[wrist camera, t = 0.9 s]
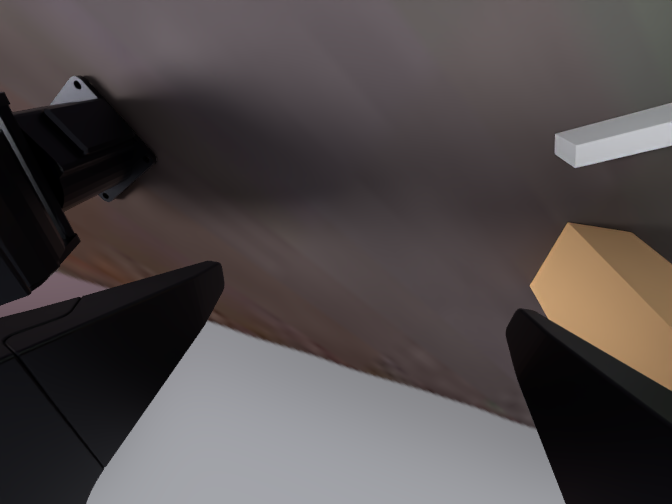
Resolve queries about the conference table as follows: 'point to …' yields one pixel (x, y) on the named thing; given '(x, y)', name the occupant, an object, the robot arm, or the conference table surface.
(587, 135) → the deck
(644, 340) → the tan block
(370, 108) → the conference table surface
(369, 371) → the conference table surface
